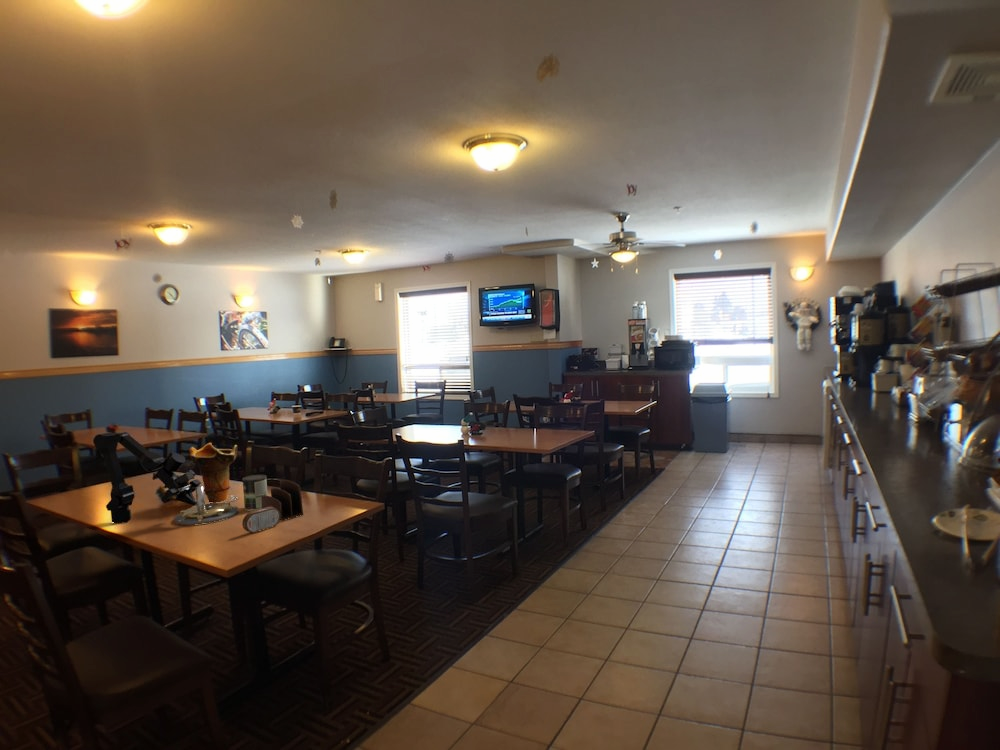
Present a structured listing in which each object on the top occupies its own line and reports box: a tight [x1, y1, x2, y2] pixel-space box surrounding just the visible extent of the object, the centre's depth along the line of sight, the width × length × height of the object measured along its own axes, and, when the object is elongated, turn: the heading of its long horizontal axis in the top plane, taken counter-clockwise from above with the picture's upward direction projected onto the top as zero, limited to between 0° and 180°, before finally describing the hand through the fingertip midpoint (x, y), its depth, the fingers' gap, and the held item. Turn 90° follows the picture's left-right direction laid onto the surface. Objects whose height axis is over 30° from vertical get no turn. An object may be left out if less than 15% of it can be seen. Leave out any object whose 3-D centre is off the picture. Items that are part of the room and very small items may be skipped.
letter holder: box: [261, 479, 304, 521], centre depth 258 cm, size 10×20×14 cm, turn 44°
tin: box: [242, 507, 280, 534], centre depth 237 cm, size 15×3×8 cm, turn 141°
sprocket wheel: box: [179, 485, 234, 519], centre depth 259 cm, size 21×21×13 cm
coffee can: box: [242, 474, 269, 511], centre depth 270 cm, size 10×10×14 cm
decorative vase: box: [189, 442, 238, 503], centre depth 285 cm, size 21×23×28 cm
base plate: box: [174, 504, 239, 526], centre depth 260 cm, size 25×25×2 cm
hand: (195, 504), depth 252 cm, fingers closed
